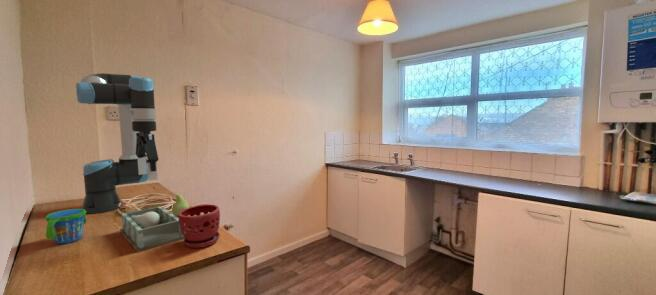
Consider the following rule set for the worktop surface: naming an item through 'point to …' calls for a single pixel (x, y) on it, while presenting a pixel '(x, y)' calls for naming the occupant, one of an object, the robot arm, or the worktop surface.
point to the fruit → (179, 204)
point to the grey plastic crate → (151, 230)
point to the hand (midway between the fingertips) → (147, 176)
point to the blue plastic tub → (65, 225)
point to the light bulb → (146, 219)
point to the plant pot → (200, 225)
